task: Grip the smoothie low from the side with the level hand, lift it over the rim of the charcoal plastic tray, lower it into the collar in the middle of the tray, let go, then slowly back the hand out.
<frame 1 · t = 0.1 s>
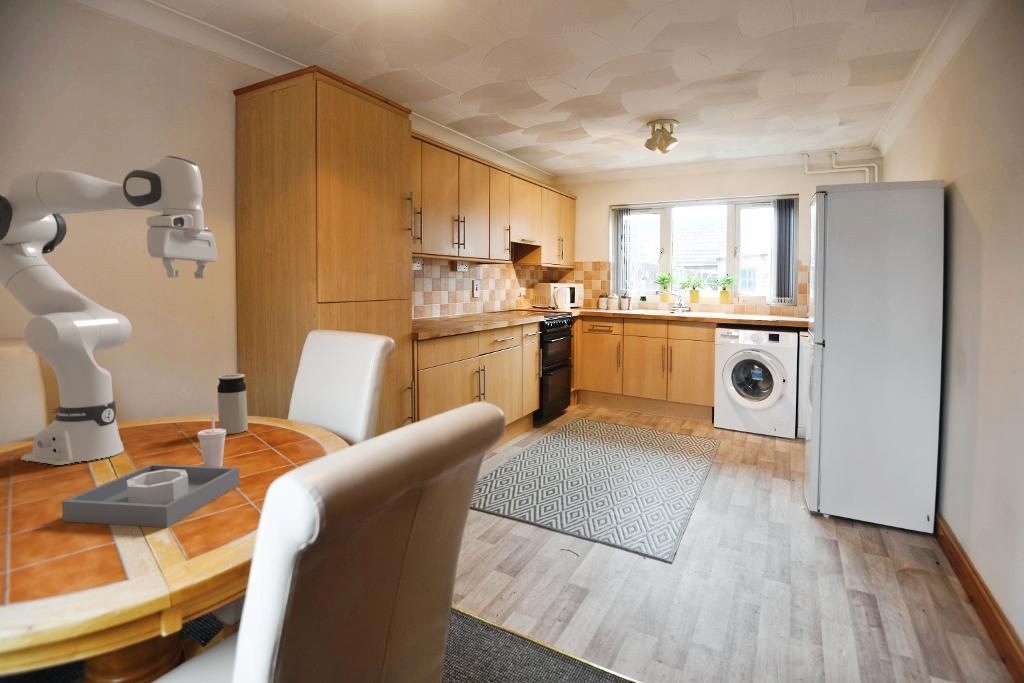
hand: (186, 278, 133), 48 cm above the table, tool pointing down, fingers open, 8 cm apart
tray: (159, 501, 111), on the table
travel mug: (233, 432, 165), on the table
smoothie: (213, 469, 131), on the table
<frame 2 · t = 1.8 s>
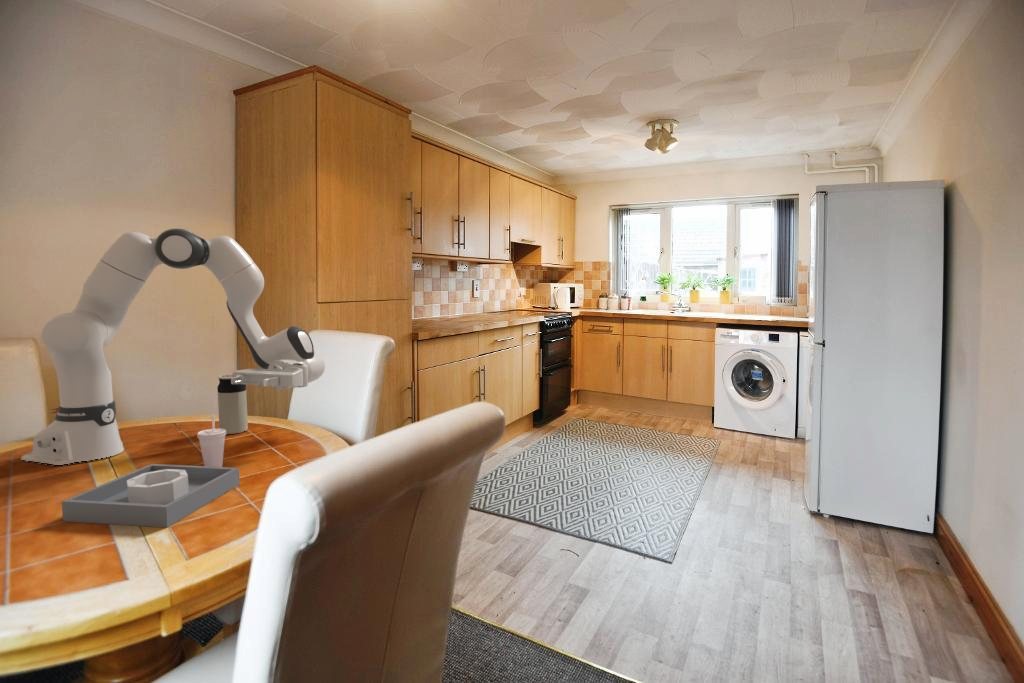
hand: (247, 382, 140), 20 cm above the table, tool horizontal, fingers open, 8 cm apart
nothing on the table moved.
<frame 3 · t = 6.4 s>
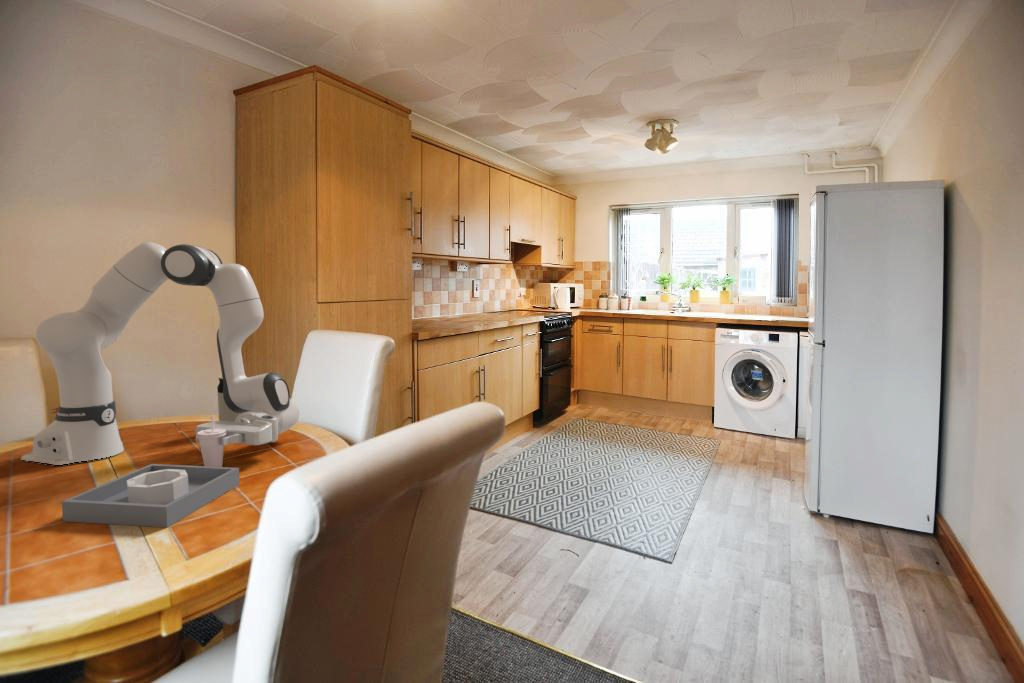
hand: (209, 440, 129), 8 cm above the table, tool horizontal, fingers closed on smoothie, 6 cm apart
smoothie: (213, 469, 131), on the table, touching gripper
everything else where it was.
when the fingers open (9 cm above the table, at t = 13.4 s): smoothie moves 1 cm, resting on tray.
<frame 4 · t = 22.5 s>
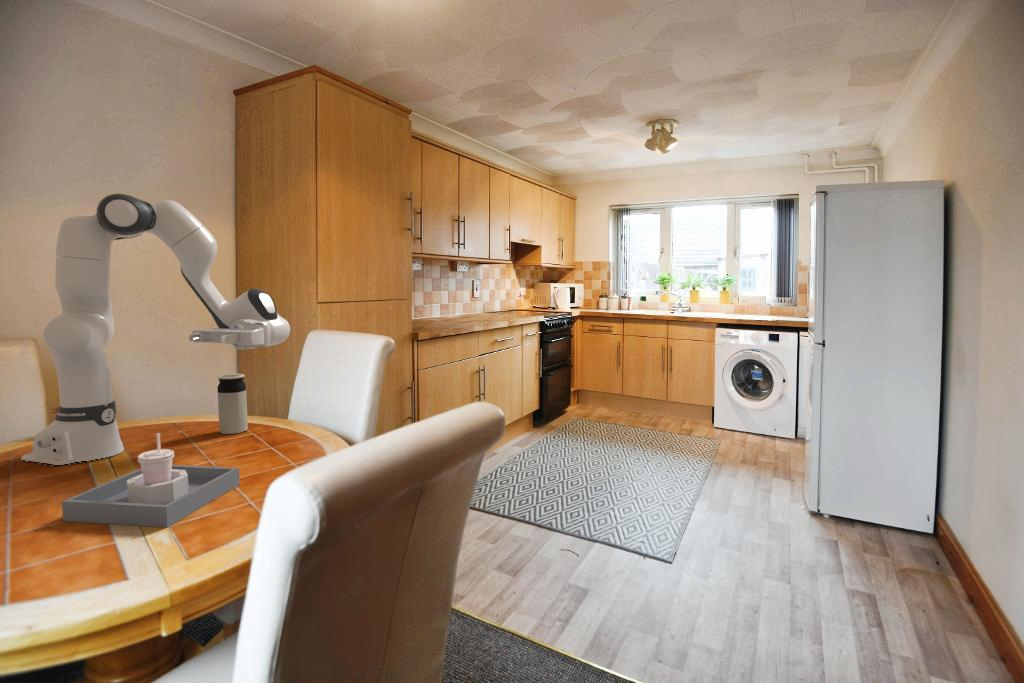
hand: (205, 338, 138), 32 cm above the table, tool horizontal, fingers open, 8 cm apart
smoothie: (158, 498, 110), point 1 cm above the table, touching tray
everything else where it was.
at the end: smoothie 0.9 cm off-centre on the tray, point 0.8 cm above the tray's base; smoothie tilted 1°; the gripper is holding nothing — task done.
